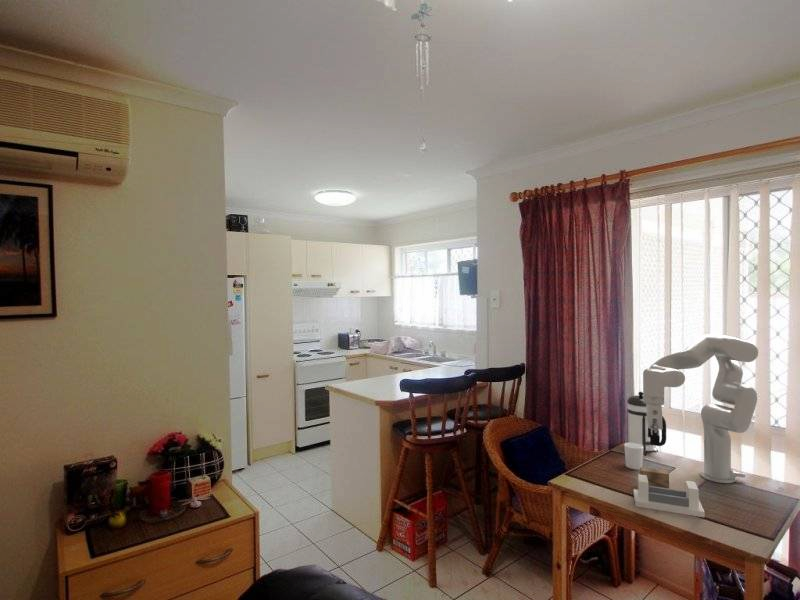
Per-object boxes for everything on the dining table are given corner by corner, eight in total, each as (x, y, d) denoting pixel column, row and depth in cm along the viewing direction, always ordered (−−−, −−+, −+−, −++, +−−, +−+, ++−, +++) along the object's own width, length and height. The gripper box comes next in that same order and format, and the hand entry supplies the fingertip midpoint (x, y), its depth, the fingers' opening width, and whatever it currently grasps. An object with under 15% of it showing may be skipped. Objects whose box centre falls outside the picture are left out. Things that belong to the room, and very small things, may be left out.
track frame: (698, 503, 170) (698, 480, 170) (704, 517, 160) (704, 492, 160) (633, 493, 179) (633, 471, 179) (635, 506, 169) (635, 482, 169)
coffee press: (626, 454, 221) (626, 394, 220) (623, 444, 236) (623, 387, 235) (666, 458, 215) (666, 396, 214) (660, 447, 230) (660, 389, 229)
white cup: (620, 465, 208) (620, 444, 208) (632, 462, 211) (632, 441, 211) (635, 471, 201) (635, 449, 200) (647, 468, 204) (647, 446, 204)
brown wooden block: (667, 489, 182) (667, 470, 182) (669, 493, 179) (669, 474, 178) (640, 485, 186) (639, 466, 186) (640, 489, 183) (640, 470, 183)
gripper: (667, 405, 172) (667, 449, 173) (661, 395, 188) (661, 436, 188) (645, 403, 175) (645, 446, 176) (641, 394, 191) (641, 433, 191)
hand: (653, 441), depth 182 cm, fingers open, 9 cm apart
